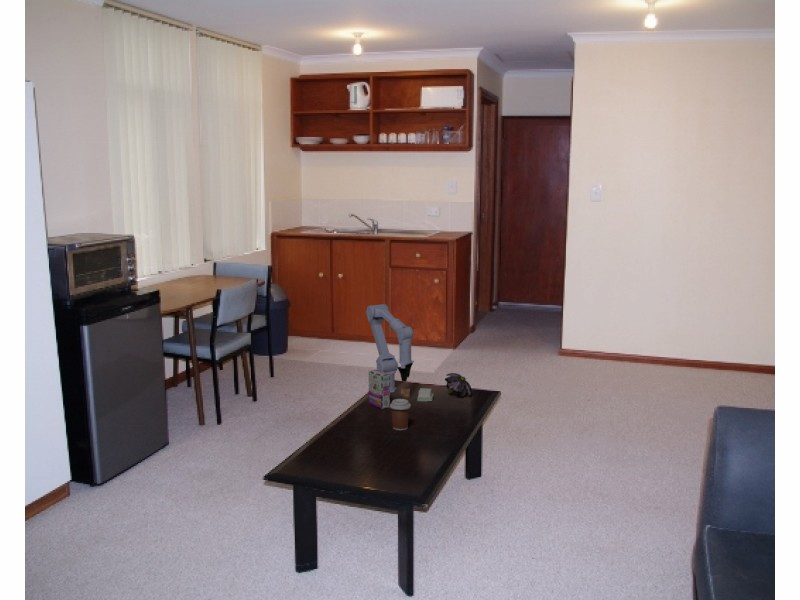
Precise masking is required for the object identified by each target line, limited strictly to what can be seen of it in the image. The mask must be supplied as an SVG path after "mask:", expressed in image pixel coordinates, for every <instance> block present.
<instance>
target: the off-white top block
mask: <svg viewBox="0 0 800 600" xmlns="http://www.w3.org/2000/svg"><path fill="white" fill-rule="evenodd" d="M432 393H433V392H432V388H423V387H422V388H419V390H418V395H419V397H430V396H431V394H432Z"/></svg>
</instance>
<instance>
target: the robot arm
mask: <svg viewBox="0 0 800 600" xmlns="http://www.w3.org/2000/svg"><path fill="white" fill-rule="evenodd" d="M365 313H366V317H367V321H368V323H369V324H370V329H371V331H372V335H373V338H374V341H375V345H376V349H377V352H378V357H377V359H375V364H376V370H379V371H382V372H385V373H388V374H390V393H395V391H396V390H397V386H396V385H395V381H396V380H395V378H396V377H395V376H396V374H395V373H397V372H399V374H400V379H401V382H407V380H408V378H410V375H411V369H412V367H413V364H414V362H415V360H412V339H413V338H414V336H415V335H414V330H413V328H412V327H411V326H407V325H406V324H405V323H403V322H402V321H401V319H400V318H395V317H394V315H393V314H392V313H391V312H390V309H389V307H388V305H387V304H386V303H382V304H373V305H367V308H366V311H365ZM384 321H386V322H387V323H389V327H390V328H391V329H392V330H393V332H395V333H396V337H397V339H398V340H397V341H398V344H399V346H398V347H399V349H398V350H399V360H398V361H397V359H396V357H395V355H393V354H392V353H390V350H389V346H388V343H387V341H386V336H385V333H384V329H383V327H382V323H383V322H384ZM398 362H399V363H398ZM399 364H400V366H399ZM395 386H396V387H395Z"/></svg>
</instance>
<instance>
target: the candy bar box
mask: <svg viewBox="0 0 800 600" xmlns="http://www.w3.org/2000/svg"><path fill="white" fill-rule="evenodd" d="M368 404H369V405H371V406H373V405H374V406H373V407H375V406H376V407H375V408H377V409H381V410H386V409H391V408H390V404H391V392H390V374H388V373H385V372H382V371H379V370H377V369H371V370H368ZM385 408H386V409H385Z"/></svg>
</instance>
